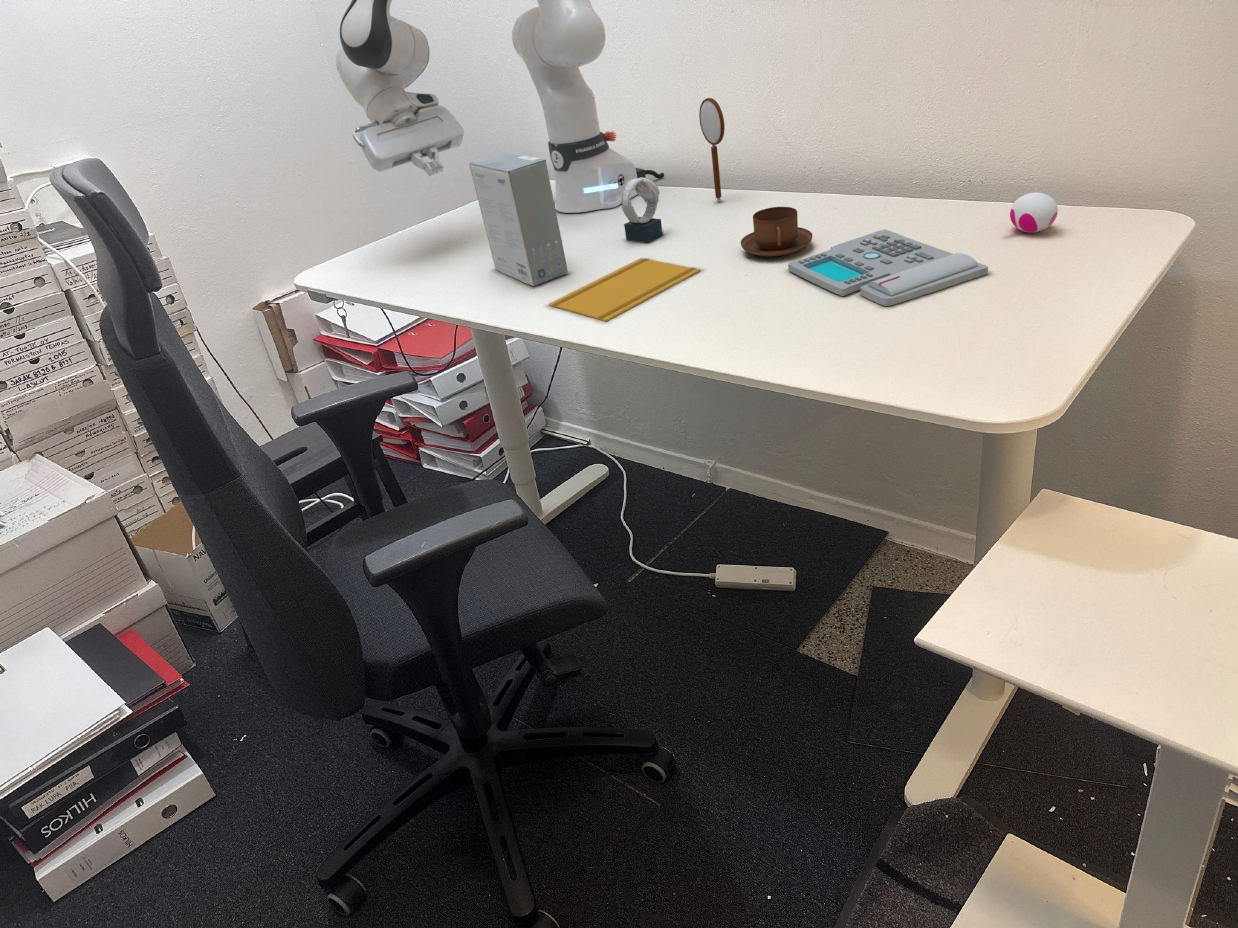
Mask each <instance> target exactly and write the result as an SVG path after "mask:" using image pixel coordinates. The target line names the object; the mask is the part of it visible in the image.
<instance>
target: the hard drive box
mask: <svg viewBox="0 0 1238 928" xmlns="http://www.w3.org/2000/svg"><path fill="white" fill-rule="evenodd" d="M468 167H469V169H470V173H471V177H472V181H473V185H474V189H475V193H476V198H477V201H478V206H479V210H480V213H481V214H480V215H481V217H482V221H483V225H484V230H485V233H486V237H487V242H488V245H489V248H490V253H491V257H492V261H493V265H494V268H495V270H496V271H498V272H501V273H502V274H504V275H506V276H510V277H511V278H513V279H515V280H519V281H520V282H522V283H524V284H526V285H530V286H532V287H534V286H537V285H540V284H543V283H545V282H547V281H548V282H549V281H550V280H554V279H556V278H558V277H561V276H564V275H566V274H568V273H569V271H568V265H567V261H566V255H565V250H564V244H563V240H562V239H563V238H562V234H561V230H560V226H559V221H558V220H559V219H558V215H557V210H555V199H554V195H553V191H552V185H551V181H550V175H549V171H548V165H547V159H545V158H540V157H534V156H529V155H523V154H517V153H510V152H500V153H497V154H494V155H490V156H487V157H484V158H483V157H482V158H480V159H477V160H474V161H470V162H469V163H468Z"/></svg>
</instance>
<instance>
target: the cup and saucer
mask: <svg viewBox="0 0 1238 928" xmlns="http://www.w3.org/2000/svg"><path fill="white" fill-rule="evenodd" d="M752 224H753V232H750V233H747V234H746V235H745V236H743V238H742V239H741V240H740V247H741V248H742V249H743V250H744V251H745V252H747V253H748V254H751V255H754V256H759V257H780V256H785V255H790V254H793V253H797V252H799V251H801V250H803V249H804V248H807V246H808V245H809V244H810V243H811V242H812V241H813V233H812V232H811V230H809V229H807V228H804V227H799V223H798V210H797V209H796V208H793V207H790V206H772V207H767V208H763V209H760V210H758V211H756V212H755V213H753V215H752Z"/></svg>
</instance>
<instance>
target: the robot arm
mask: <svg viewBox="0 0 1238 928" xmlns="http://www.w3.org/2000/svg"><path fill="white" fill-rule="evenodd" d="M536 1H537V5H538V6H536V7H533V8H531V9H529V10H527V11H525V12H524V13H522V14H521V15H519V16H518V18H516V20H515V22H514V24H513V27H512V30H511V41H512V45H513V48H514V50H515V52H516V53H517V55H518V56H519V57H520V58H521V60H522V61H523V62H524V64H525V67H526V68H527V71H528V73H529V75H530V78H531V80H532V83H533V85H534V87H535V89H536V92H537V94H538V97H539V100H540V104H541V108H542V111H543V116H544V120H545V121H544V122H545V126H546V131H547V136H548V142H547V147H548V152H549V157H550V161H551V165H552V168H553V172H554V187H555V199H554V205H555V210H556V212H559V213H566V214H577V213H587V212H592V211H596V210H597V211H598V210H604V209H606V210H607V209H612V208H617V207H618V206H619V205H622V202H621V197H622V191H623V188H624V186H625V185H626V183H627V182H628V181H629V180H631V179H638V178H646V175H651V176H653V177H654V178H655V179H662V178H664V177H665V173H664V172H661V173H657V172H656V171H655V170H652V169H643V168H640V167H636V166H635V164H634V163H633V161H632V160H631V159H629V158H627V157H626V156H624V155H622V154H620V153H619V152H617V151H615V150H614V149H612V148H610V145H609V143H608V142H615V141H616V139H617V133H616V132H615V131H612V130H611V131H610V130H608V131H605V132H603V131H601V129H600V128H601V127H600V122H599V116H598V110H597V104H596V99H595V98H596V97H595V94H594V93H593V90H592V88H591V87H590V86H589V85H588V84H587V82H586V81H585V79H584V77H583V74H582V72H581V70H580V68H581V67H584V66H585V65H586V66H587V65H588V64H590V63H592V62H594V61H596V60H597V59H598V58H599V57H600V56H601V55H602V53H603V50H604V47H605V45H606V44H605V43H606V30H605V26H604V23H603V20H602V19H601V17H600V16H599V14H598V13H597V11H595V9H594V7H593V5H592V3H591V0H536ZM392 3H393V0H351V2H350V3H349V5H348V7H347V8H346V10H345V12H344V14H343V16H342V18H341V21H340V26H339V40H340V44H341V46H340V47H339V49H338V50H337V53H336V57H335V66H336V70H337V73H338V76H339V78H340V79H341V81H342V83H343V85H344V86H345V88H346V89H347V91H348V92H349V94H350V95H351V96H352V98H353V100H354V101H355V102H356V103H357V104H358V105H360V106H361V108H363V110H364V113H365V115H366V116H367V118H368V121H370V123H367V124H365V125H360V126H357V127H356V128H355V130H354V131H353V132H352V139H353V140H354V141H355V143H356V145H358V147H360V148H361V150H362V152H363V154H364V156H365V158H366V160H367V161H368V163H369V165H370V167H371V168H372V169H373V170H375V171H377V172H380V173H381V172H385V171H388V170H391V169H393V168H397V167H399V166H403V165H406V164H409V163H411V164H413V165H414V166H415V167H417V168H419V169H421V170H423V171H424V172H425V173H426V174H427V176H429V177H431V176H433V175H436V174H437V175H438V174H440V173H442V172H443V171H444V165H443V164H442V162H441V160H440V156H439V153H442V152H446V151H449V150H451V149H454V148H457V147H460V146H461V145H462V144H463V143H462V142H463V140H464V136H465V130H464V128H463V126H462V124H461V123H460V122H459V121H458V120H457V118H456V117H455V116H454V115H453V114H452V113H451V111H450V110H448V108H446V107H445V106H443V105H440V104H439V102H440V99H439V98H438V97H437V95H436V94H435V93H421V92H411V91H406V90H405V89H406V88H408V87H409V86H410V85H411V84H413V83H414V82H415V81H416V80H417V79H418V78H419V77H420V76H421V75H422V74H423V73H424V71H425V70H426V68H427V67H428V64H429V61H430V45H429V41H428V39H427V36H426V35H425V34H424V32H423V31H422V30H421V29H419V28H417V27H416V26H413V25H411V24H410V23H408V22H406V21H404V20H401V19H399V18H396V17H394V16H392V15H391V5H392ZM427 157H428V159H429V160H432V161H430V162H428V161H427V160H426V159H424V158H427ZM646 179H647V178H646ZM636 196H638V194H637V192H636V191H634V189H633V191H632V194H631V199H632V198H634V197H636Z"/></svg>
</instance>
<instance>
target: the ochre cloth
mask: <svg viewBox="0 0 1238 928" xmlns="http://www.w3.org/2000/svg"><path fill="white" fill-rule="evenodd" d="M699 272H701V269H700V268H696V267H689V266H684V265H679V264H674V263H668V262H664V261H658V260H653V259H650V258H644V257H643V258H642V257H640V258H639V259H636V260H634V261H633V262H631V263H628V264H627V265H625V266H623V267H620V268H618V269H616V270H615V271H612V272H611V273H608V274H607V275H604V276H603V277H600V278H598V279H596V280H594V281H592V282H590V283H587V284H586V285H584V286H582V287H580V288H578V289H576V290H574V291H571V292H570V293H568V294H566V295H563V296H562V297H560V298H557V299H556V300H554V301H552V302H550V303H548V306H549V307H552V308H557V309H560V310H563V311H567V312H569V313H570V312H571V313H575V314H578V315H582V316H585V317H590V318H593V319H596V320H600V321H603V322H609V321H610V320H612V319H614V318H616V317H618V316H620V315H622V314H624V313H625V312H627V311H629V310H630V309H633V308H634V307H636V306H638V305H639V304H642V303H644V302H645V301H648V300H649V299H652V298H653V297H655V296H657V295H659V294H660V293H662V292H664V291H666V290H669V289H670V288H671V287H674V286H676V285H677V284H679V283H681V282H683V281H685V280H687V279H689V278H691V277H692V276H694V275H696V274H698V273H699Z"/></svg>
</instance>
